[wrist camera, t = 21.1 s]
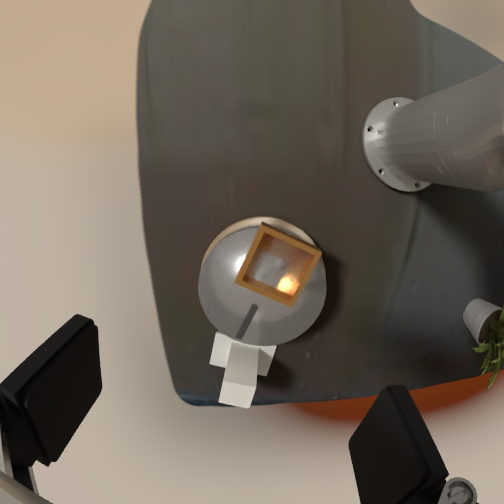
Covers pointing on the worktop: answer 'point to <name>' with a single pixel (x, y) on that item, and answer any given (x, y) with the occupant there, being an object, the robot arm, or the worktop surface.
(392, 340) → the worktop surface
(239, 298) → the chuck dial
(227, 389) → the white rectangular block
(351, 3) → the worktop surface
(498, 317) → the house plant
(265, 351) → the mat
